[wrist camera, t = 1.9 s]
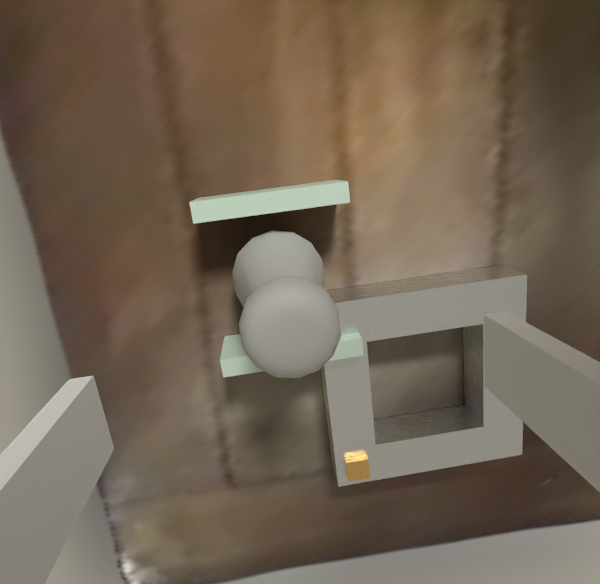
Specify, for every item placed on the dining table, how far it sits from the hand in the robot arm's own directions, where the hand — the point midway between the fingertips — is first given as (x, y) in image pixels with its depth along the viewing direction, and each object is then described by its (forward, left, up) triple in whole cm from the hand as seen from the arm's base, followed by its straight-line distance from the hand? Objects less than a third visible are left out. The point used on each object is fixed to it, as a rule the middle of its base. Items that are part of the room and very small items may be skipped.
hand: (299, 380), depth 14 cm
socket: (+9, +9, -16) cm, 20 cm away
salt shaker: (0, 0, -16) cm, 16 cm away
